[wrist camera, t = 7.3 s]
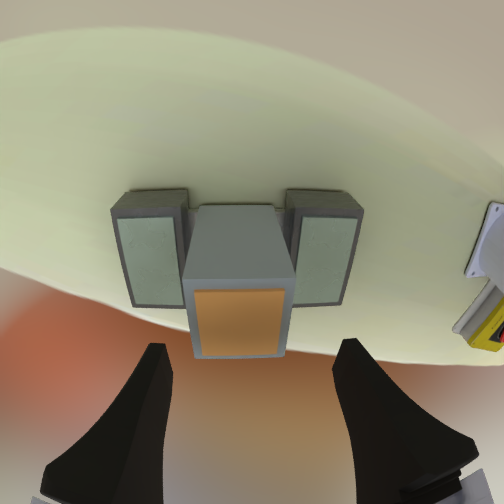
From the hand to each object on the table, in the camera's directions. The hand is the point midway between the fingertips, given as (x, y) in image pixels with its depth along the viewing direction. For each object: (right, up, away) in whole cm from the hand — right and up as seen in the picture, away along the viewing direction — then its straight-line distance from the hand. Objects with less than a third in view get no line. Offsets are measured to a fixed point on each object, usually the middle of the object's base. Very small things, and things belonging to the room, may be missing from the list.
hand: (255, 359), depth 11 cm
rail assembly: (-1, +5, +8) cm, 10 cm away
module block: (-1, +5, +8) cm, 9 cm away
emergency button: (+32, -3, +17) cm, 36 cm away
